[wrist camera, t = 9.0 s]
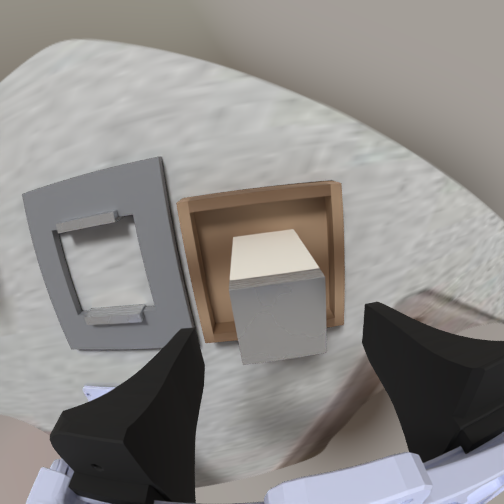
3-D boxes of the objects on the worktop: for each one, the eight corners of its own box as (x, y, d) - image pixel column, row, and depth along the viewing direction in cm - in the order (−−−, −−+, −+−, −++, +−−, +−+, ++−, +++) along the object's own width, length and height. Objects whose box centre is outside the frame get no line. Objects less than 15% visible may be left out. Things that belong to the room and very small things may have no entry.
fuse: (298, 283, 21) (326, 352, 13) (241, 291, 21) (242, 364, 14) (293, 229, 20) (325, 276, 12) (233, 237, 20) (228, 290, 12)
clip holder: (198, 339, 23) (195, 350, 21) (74, 344, 23) (68, 353, 22) (161, 156, 18) (155, 157, 17) (27, 192, 18) (16, 195, 17)
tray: (336, 311, 22) (343, 324, 21) (208, 328, 23) (205, 343, 21) (331, 180, 19) (341, 183, 17) (182, 198, 19) (176, 203, 17)
